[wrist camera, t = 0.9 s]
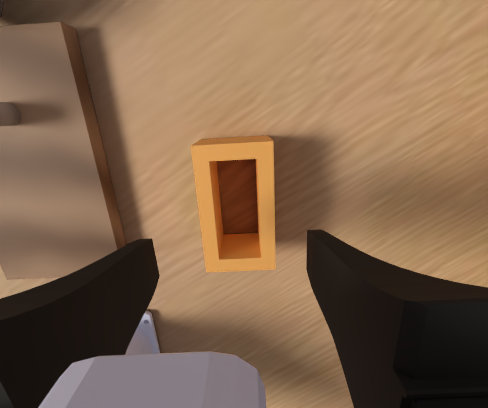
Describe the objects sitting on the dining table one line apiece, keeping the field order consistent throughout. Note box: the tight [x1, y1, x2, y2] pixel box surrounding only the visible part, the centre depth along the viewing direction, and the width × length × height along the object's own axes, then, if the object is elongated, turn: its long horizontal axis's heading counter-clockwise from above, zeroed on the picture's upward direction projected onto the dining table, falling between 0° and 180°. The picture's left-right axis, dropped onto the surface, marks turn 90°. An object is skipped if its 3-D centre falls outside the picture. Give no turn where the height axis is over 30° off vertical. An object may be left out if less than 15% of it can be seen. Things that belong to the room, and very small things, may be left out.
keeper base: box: [0, 22, 126, 280], centre depth 18 cm, size 18×10×5 cm, turn 3°
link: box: [191, 136, 276, 272], centre depth 19 cm, size 9×5×4 cm, turn 3°
